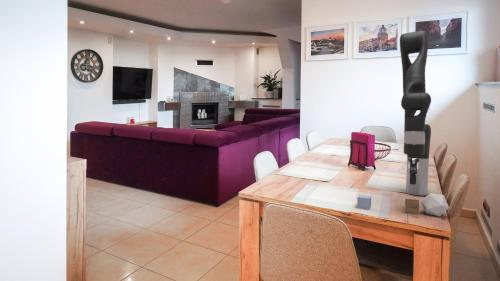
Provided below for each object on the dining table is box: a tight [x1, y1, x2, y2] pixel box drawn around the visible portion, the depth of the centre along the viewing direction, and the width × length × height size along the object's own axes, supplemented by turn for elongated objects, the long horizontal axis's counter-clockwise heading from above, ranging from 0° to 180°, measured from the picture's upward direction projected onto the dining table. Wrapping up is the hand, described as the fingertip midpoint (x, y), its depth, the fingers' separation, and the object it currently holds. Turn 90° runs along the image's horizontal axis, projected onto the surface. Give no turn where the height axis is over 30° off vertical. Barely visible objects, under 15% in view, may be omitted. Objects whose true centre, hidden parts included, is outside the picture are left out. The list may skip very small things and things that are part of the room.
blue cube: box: [356, 194, 372, 211], centre depth 135 cm, size 5×5×5 cm
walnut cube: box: [404, 198, 420, 215], centre depth 130 cm, size 5×5×5 cm
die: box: [420, 192, 450, 217], centre depth 127 cm, size 8×9×10 cm
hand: (412, 182), depth 130 cm, fingers open, 8 cm apart
